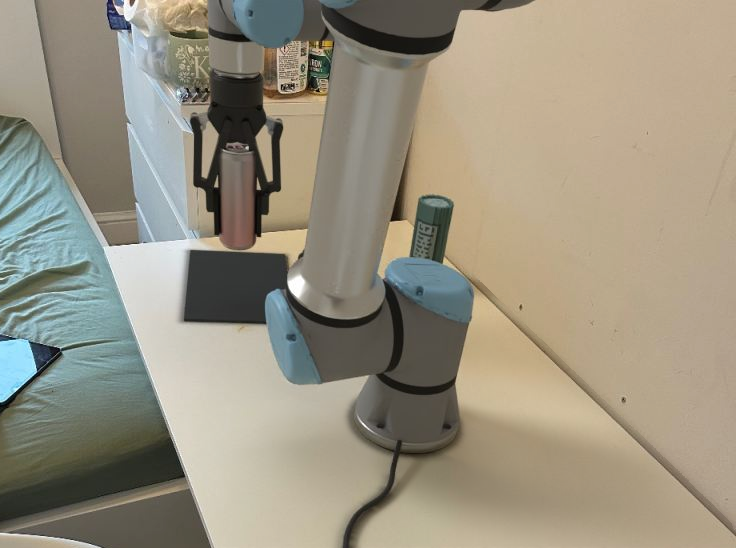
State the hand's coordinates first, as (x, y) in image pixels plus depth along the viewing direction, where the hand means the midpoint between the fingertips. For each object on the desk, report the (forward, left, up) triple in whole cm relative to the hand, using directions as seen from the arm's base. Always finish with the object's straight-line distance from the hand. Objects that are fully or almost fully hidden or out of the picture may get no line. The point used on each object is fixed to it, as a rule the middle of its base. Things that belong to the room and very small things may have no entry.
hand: (237, 232), depth 119 cm
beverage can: (0, 0, -2) cm, 2 cm away
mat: (+7, 0, -13) cm, 15 cm away
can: (+12, -35, -13) cm, 39 cm away
